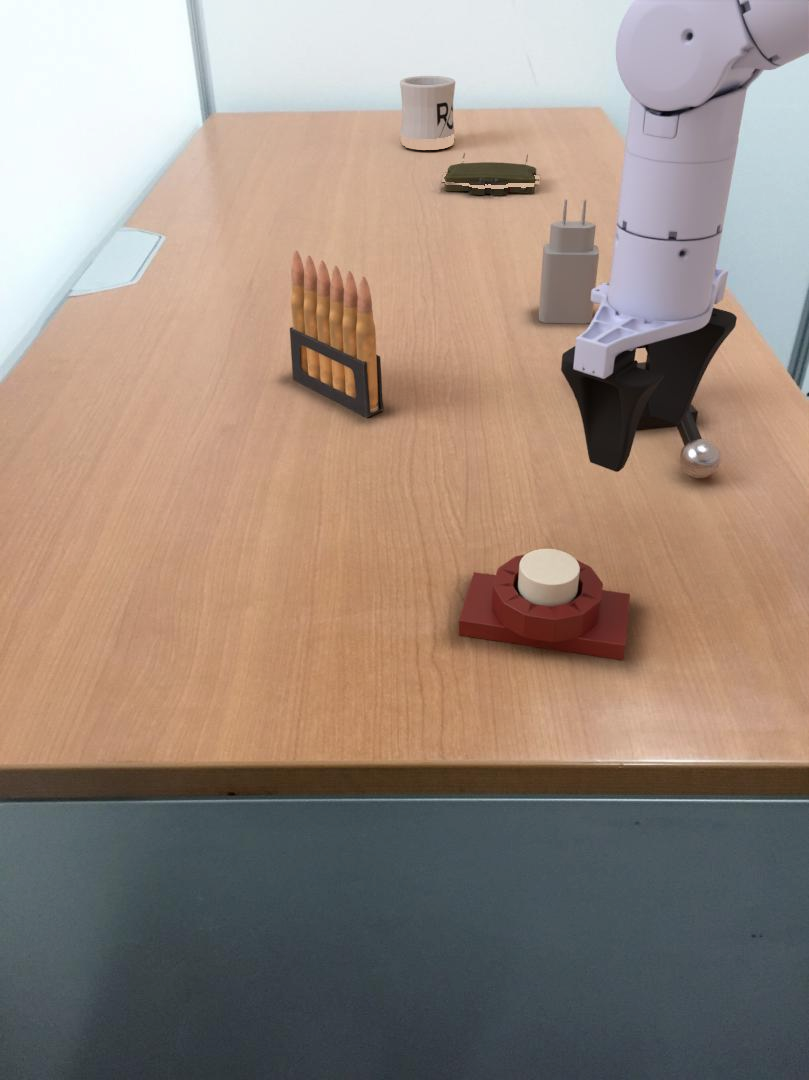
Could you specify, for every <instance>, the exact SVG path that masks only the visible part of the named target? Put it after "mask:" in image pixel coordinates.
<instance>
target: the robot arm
mask: <svg viewBox="0 0 809 1080" xmlns="http://www.w3.org/2000/svg"><path fill="white" fill-rule="evenodd" d="M808 54H809V0H633V1H632V3H631V4H630V5H629V7H628V8H627V10H626V12H625V13H624V15H623V17H622V20H621V22H620V25H619V28H618V31H617V36H616V43H615V61H616V67H617V71H618V73H619V77H620V79H621V81H622V84H623V85H624V87H625V89H626V91H627V92H628V93H629V94H630V100H629V101H630V102H629V110H628V118H627V120H628V121H627V127H626V135H625V143H624V151H623V160H622V168H621V169H622V170H621V178H620V186H619V196H618V203H617V214H616V222H615V230H614V231H615V232H614V239H613V248H612V258H611V266H610V275H609V281H607V282H603V283H601V284H599V285H596V287H595V288H594V289H592V291H591V301H592V302H594V304H597V305H599V306H598V308H597V310H596V312H595V314H594V316H593V317H592V322H591V323H589V324H588V327H587V328H586V329H585V331H583V332H582V333H580V334H579V335H578V336H576V338H575V345H574V346H572V347H570V348H568V350H566V351H564V352H563V353H562V355H561V366H560V371H561V373H562V375H563V376H564V378H565V380H566V381H567V384H568V385H569V387H570V389H571V391H572V393H573V396H574V398H575V400H576V403H577V407H578V409H579V412H580V417H581V422H582V426H583V432H584V437H585V444H586V450H587V455H588V459H589V463H591V464H594V465H597V466H599V467H602V468H604V469H607V470H610V471H612V472H615V473H618V472H620V471H622V469H624V468H625V466H626V464H627V462H628V459H629V457H630V454H631V452H632V448H633V444H634V440H635V436H636V432H637V430H636V429H637V426H638V423H639V420H640V417H641V415H642V412H643V410H644V408H645V406H646V403H647V401H648V400H649V411H650V415H651V416H654V417H657V418H660V419H663V420H666V421H669V422H672V423H675V424H679V423H680V422H681V421H682V420H683V418H684V417H685V415H686V413H687V411H688V409H689V407H690V404H692V402H693V400H694V397H695V396H696V392H697V390H698V388H699V386H700V384H701V381H702V379H703V377H704V375H705V372H706V370H707V368H708V367H709V365H710V363H711V361H712V360H713V358H714V357H715V355H716V353H717V352H718V350H719V349H720V347H721V345H722V344H723V343H724V342H725V340H726V339H727V338H728V336H730V334H731V333H732V332H733V330H734V329H735V328H736V325H737V320H738V317H737V316H736V314H735V313H734V312H730V311H728V310H725V309H724V310H723V309H720V308H716V307H715V305H716V304H719V303H720V302H722V301H723V300H724V296H725V292H726V285H727V280H728V275H729V270H727V269H724V268H719V267H717V265H718V264H717V263H718V257H719V252H720V245H721V242H722V241H721V240H722V236H723V228H724V224H725V217H726V212H727V207H728V201H729V195H730V190H731V186H732V185H731V184H732V178H733V173H734V169H735V168H734V167H735V161H736V156H737V150H738V145H739V135H740V134H739V133H740V129H741V124H742V119H743V112H744V107H745V102H746V97H747V90H748V89H749V88H750V86H751V85H752V84H753V83H754V82H755V81H756V80H757V79H758V78H759V77H760V76H761V75H762V73H763V72H764V71H772V70H776V69H778V68H780V67H782V66H785V65H786V64H788V63H791V62H793V61H795V60H797V59H800V58H801V57H804V56H805V55H808ZM647 344H648V346H649V357H650V371H648V370H645V369H642V368H638V367H637V363H639V361H638V360H636V359H635V361H633V355H634V352H632V350H634V349H635V348H637V347H640V346H643V345H647Z"/></svg>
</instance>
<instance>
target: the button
mask: <svg viewBox="0 0 809 1080" xmlns="http://www.w3.org/2000/svg"><path fill="white" fill-rule="evenodd" d="M525 554H526V555H525ZM525 554H523V555H524V556H523V558H522V559H521V561H520V565H519V578H518V590H519V592H520V594H521V595H522V597H523V598H525V599H526V600H528V601H530V602H532V603H533V604H539V605H545V606H552V607H553V606H558V605H563V604H567V603H569V602H571V601H572V600H573V599H574V598H575V596H576V595H577V590H578V582H579V573H580V566H579V564H578V562H577V560H578V559H577V558H575V557H574V556H572V555H571V554H569V553H568V552H565V551H562V550H559V549H554V548H538V549H534V550H531V551H529V552H527V553H525Z"/></svg>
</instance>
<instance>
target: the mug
mask: <svg viewBox="0 0 809 1080" xmlns="http://www.w3.org/2000/svg"><path fill="white" fill-rule="evenodd" d="M399 86H400V96H401V126H400V136H401V135H403V136H405V137H407V138H413V139H437V138H445V137H448V136H451V135H452V134H454V132H455V124H454V123H455V122H454V98H455V90H456V79H454V78H452V77H447V76H440V75H418V76H417V75H416V76H409V77H405V78H403V79H401V80H400V81H399Z"/></svg>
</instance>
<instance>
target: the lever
mask: <svg viewBox="0 0 809 1080" xmlns="http://www.w3.org/2000/svg"><path fill="white" fill-rule="evenodd" d="M637 349H645V351H646V355H647V354H648V356H649V346H648V344H647V345H643V346H640V347H637V348H636V350H637ZM649 359H650V357H649ZM675 427H676V428H677V431H678V433H679V436H680V438H681V441H682V443H683V447H682V448H681V451H680V453H679V457H678V458H679V465H680V468H681V469H682V471H683V473H685V474H686V475H687V476H688V477H691V478H694V479H705V478H708V477H711V476H712V475H714V474H715V473H716V472H717V470H718V469H719V467H720V464H721V460H722V458H721V457H722V456H721V452H720V449H719V448H718V447H717V445H716V444H715V443H714V442H712V441H711V440H709V439H706V438H702V435H701V433H700V431H699V428H698V426H697V422H696V423H695V421H694V418H693V416H692V414H691V411H690V409H688V411H687V413H686V415H685V417H684V418H683V420H682V421H681V422H680V423H679V424H676V426H675Z"/></svg>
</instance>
